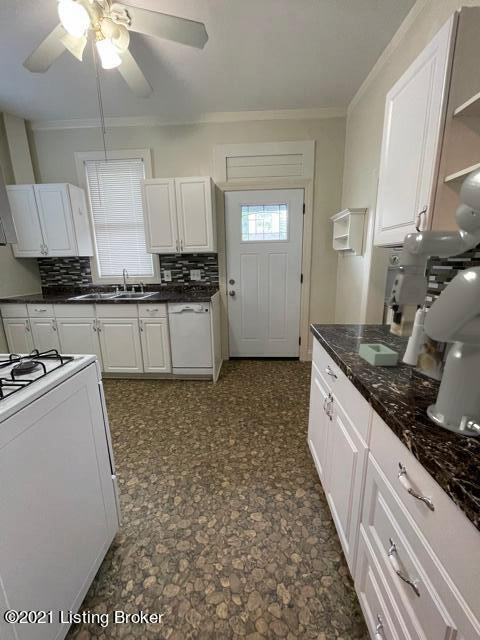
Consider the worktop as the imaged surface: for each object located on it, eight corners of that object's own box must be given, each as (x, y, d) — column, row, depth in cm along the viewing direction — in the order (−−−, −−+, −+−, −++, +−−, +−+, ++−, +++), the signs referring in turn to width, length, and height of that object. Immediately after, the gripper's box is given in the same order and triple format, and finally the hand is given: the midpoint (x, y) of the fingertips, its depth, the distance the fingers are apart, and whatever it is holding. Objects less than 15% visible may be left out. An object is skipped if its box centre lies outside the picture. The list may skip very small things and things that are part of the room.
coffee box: (451, 378, 95) (461, 335, 91) (439, 381, 93) (449, 337, 89) (425, 368, 103) (434, 328, 99) (414, 370, 101) (422, 330, 97)
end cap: (396, 365, 105) (398, 353, 104) (373, 365, 104) (375, 353, 103) (379, 354, 116) (381, 343, 115) (358, 354, 116) (360, 343, 114)
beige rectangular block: (411, 336, 93) (417, 302, 90) (400, 336, 93) (406, 302, 90) (400, 331, 99) (405, 299, 96) (390, 331, 99) (395, 299, 96)
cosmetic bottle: (400, 358, 112) (409, 307, 106) (415, 360, 111) (426, 308, 106) (406, 364, 106) (416, 311, 101) (422, 366, 105) (434, 311, 100)
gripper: (395, 271, 86) (386, 325, 91) (443, 272, 88) (432, 325, 92) (381, 270, 93) (374, 320, 98) (426, 270, 95) (416, 320, 99)
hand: (402, 322), depth 95 cm, fingers closed on beige rectangular block, 4 cm apart
